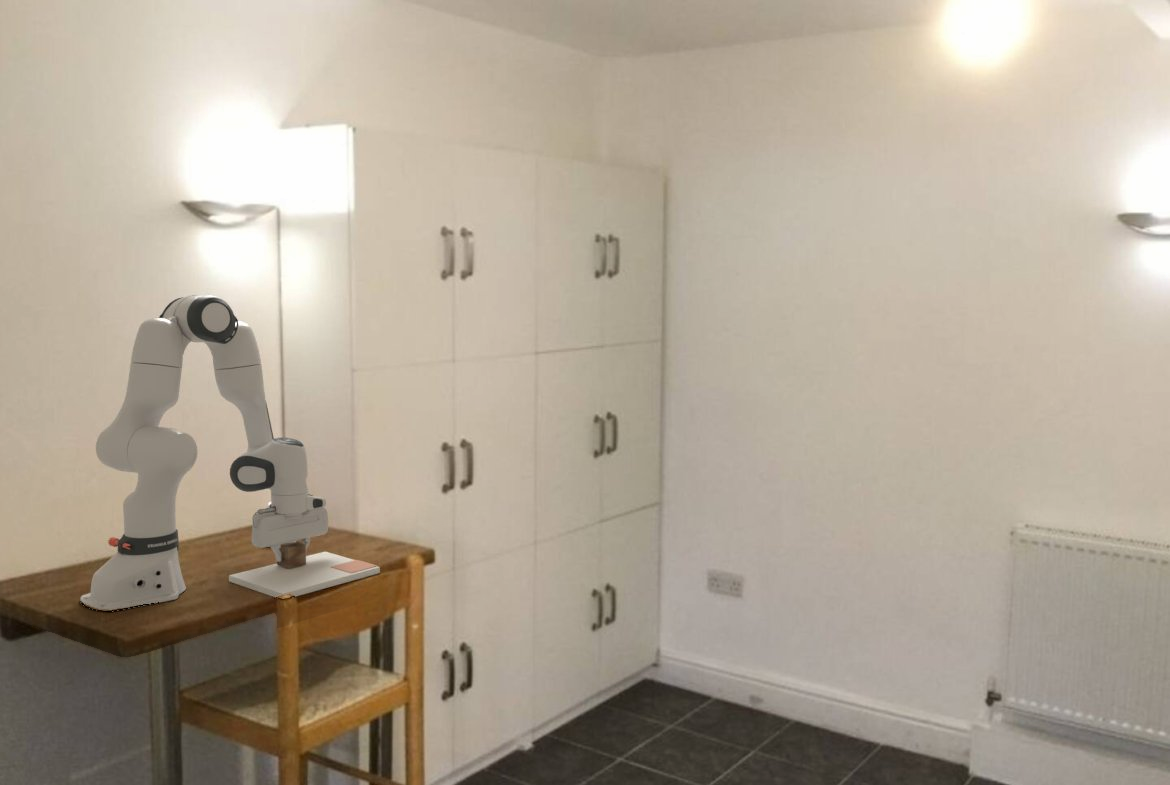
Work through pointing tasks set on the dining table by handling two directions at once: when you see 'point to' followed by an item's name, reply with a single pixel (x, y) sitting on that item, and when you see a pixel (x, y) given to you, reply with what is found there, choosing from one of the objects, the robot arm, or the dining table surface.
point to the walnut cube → (293, 555)
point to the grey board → (304, 575)
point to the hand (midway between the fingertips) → (291, 558)
